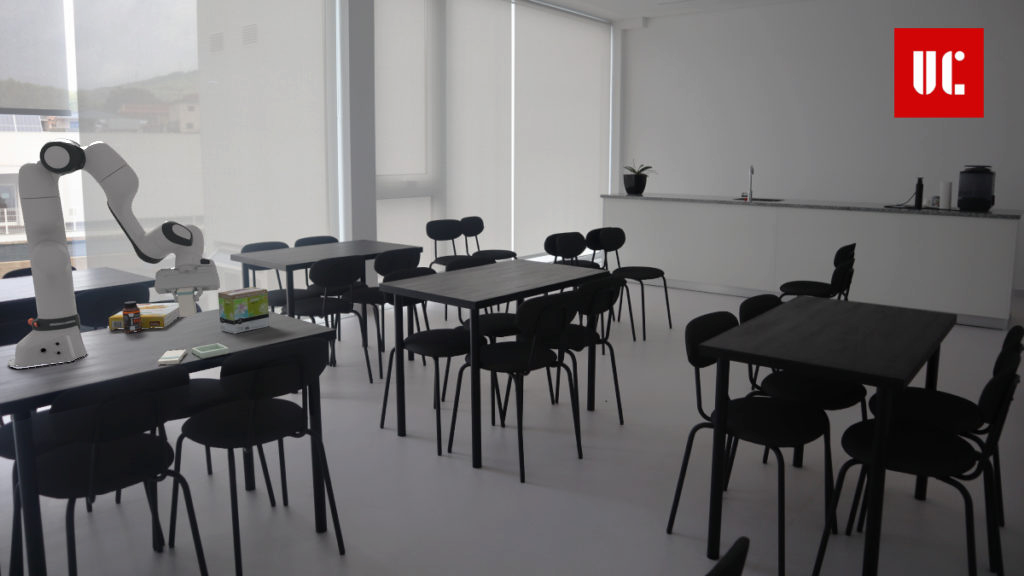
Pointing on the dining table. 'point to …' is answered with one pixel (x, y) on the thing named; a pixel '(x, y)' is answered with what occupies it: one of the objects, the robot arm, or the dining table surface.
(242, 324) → the tea box
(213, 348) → the tray
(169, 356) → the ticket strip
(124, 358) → the dining table surface
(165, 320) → the cereal box
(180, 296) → the white teal striped box
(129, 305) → the supplement bottle
